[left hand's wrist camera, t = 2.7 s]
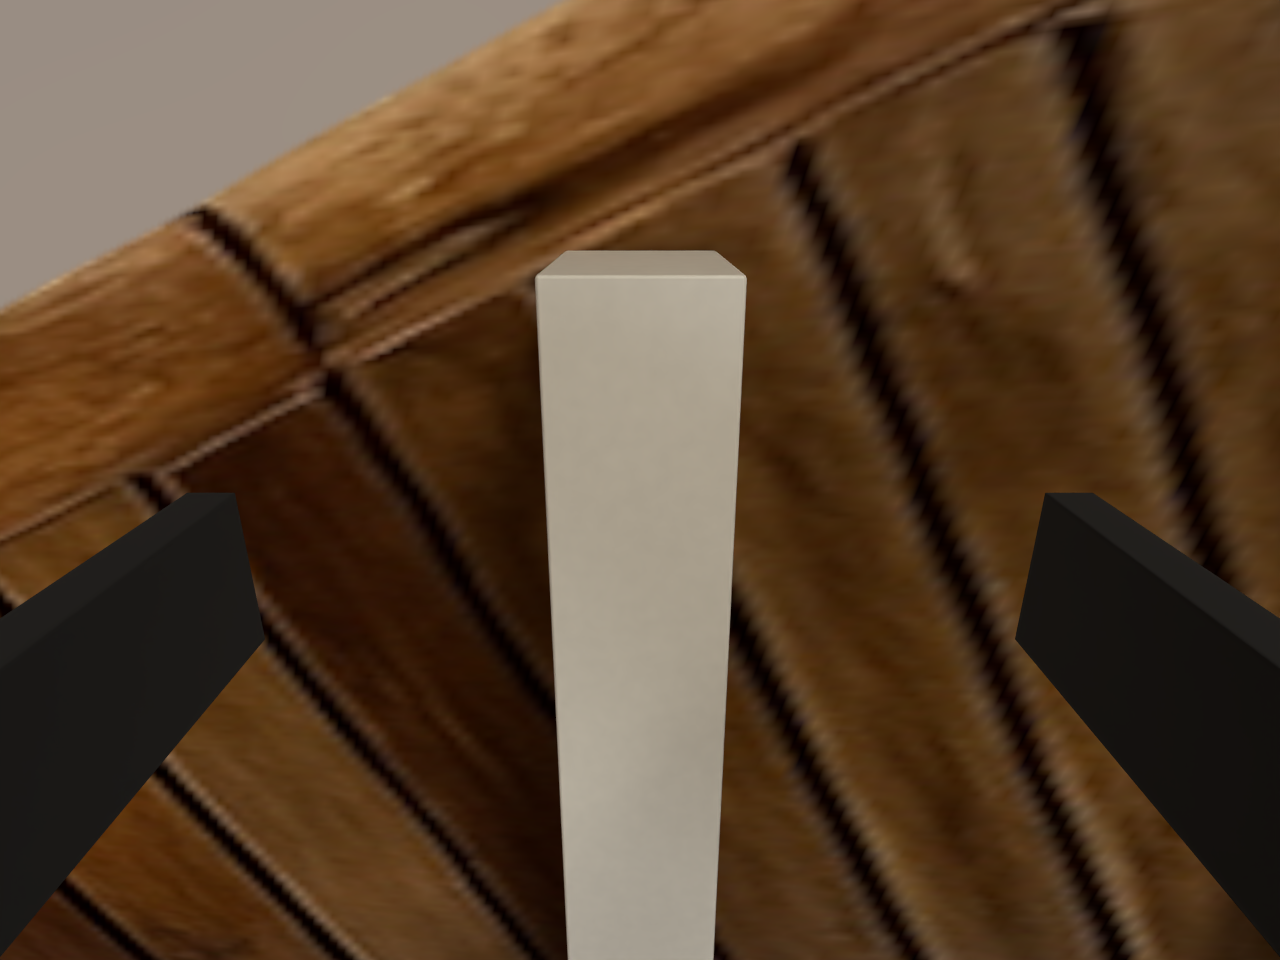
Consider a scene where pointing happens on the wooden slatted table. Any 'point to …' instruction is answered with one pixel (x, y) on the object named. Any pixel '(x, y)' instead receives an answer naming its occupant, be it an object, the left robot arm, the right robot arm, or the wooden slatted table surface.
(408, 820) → the wooden slatted table surface
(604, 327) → the beam
